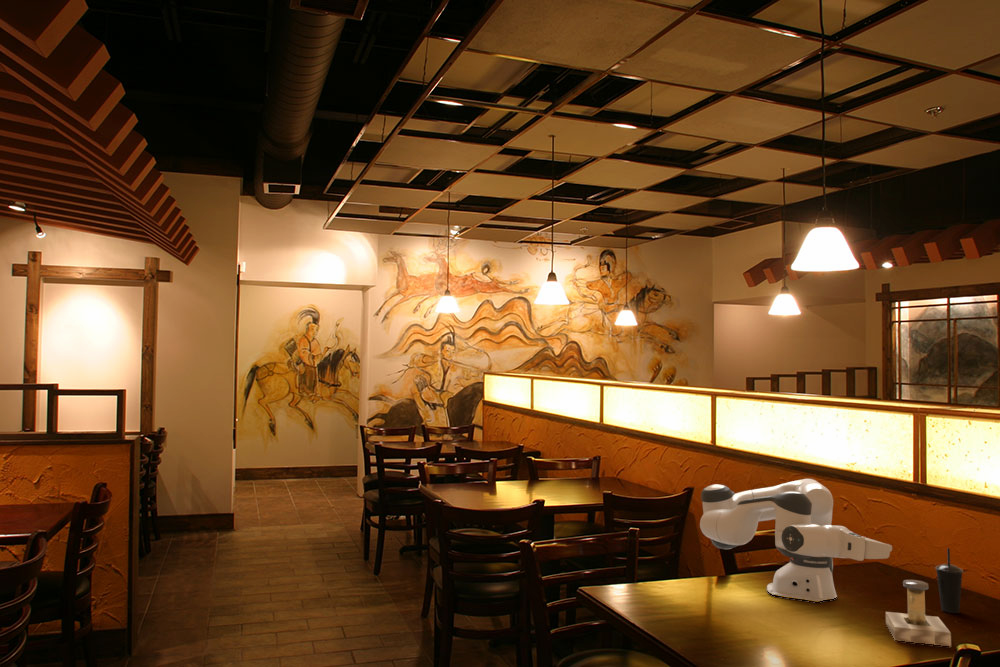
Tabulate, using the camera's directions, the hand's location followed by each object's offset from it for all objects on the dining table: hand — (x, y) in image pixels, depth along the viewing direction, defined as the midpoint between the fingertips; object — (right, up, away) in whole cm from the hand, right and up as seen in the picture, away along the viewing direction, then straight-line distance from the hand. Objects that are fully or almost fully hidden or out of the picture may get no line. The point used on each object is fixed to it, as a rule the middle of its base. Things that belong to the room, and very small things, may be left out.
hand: (877, 543), depth 207 cm
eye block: (+13, -27, +1) cm, 30 cm away
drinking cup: (+36, -29, +23) cm, 51 cm away
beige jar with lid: (+13, -27, +1) cm, 30 cm away
